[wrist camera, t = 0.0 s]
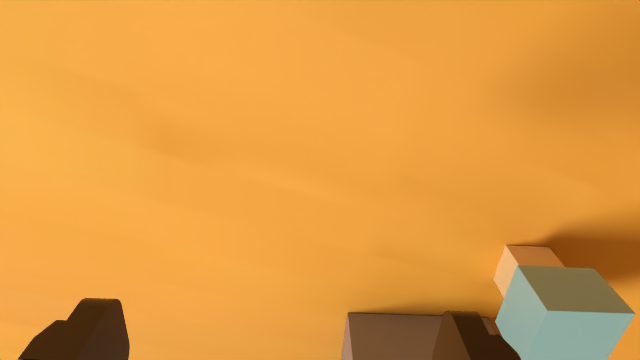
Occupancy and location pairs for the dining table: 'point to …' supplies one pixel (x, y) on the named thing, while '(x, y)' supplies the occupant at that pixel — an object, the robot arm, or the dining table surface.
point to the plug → (557, 307)
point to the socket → (392, 336)
